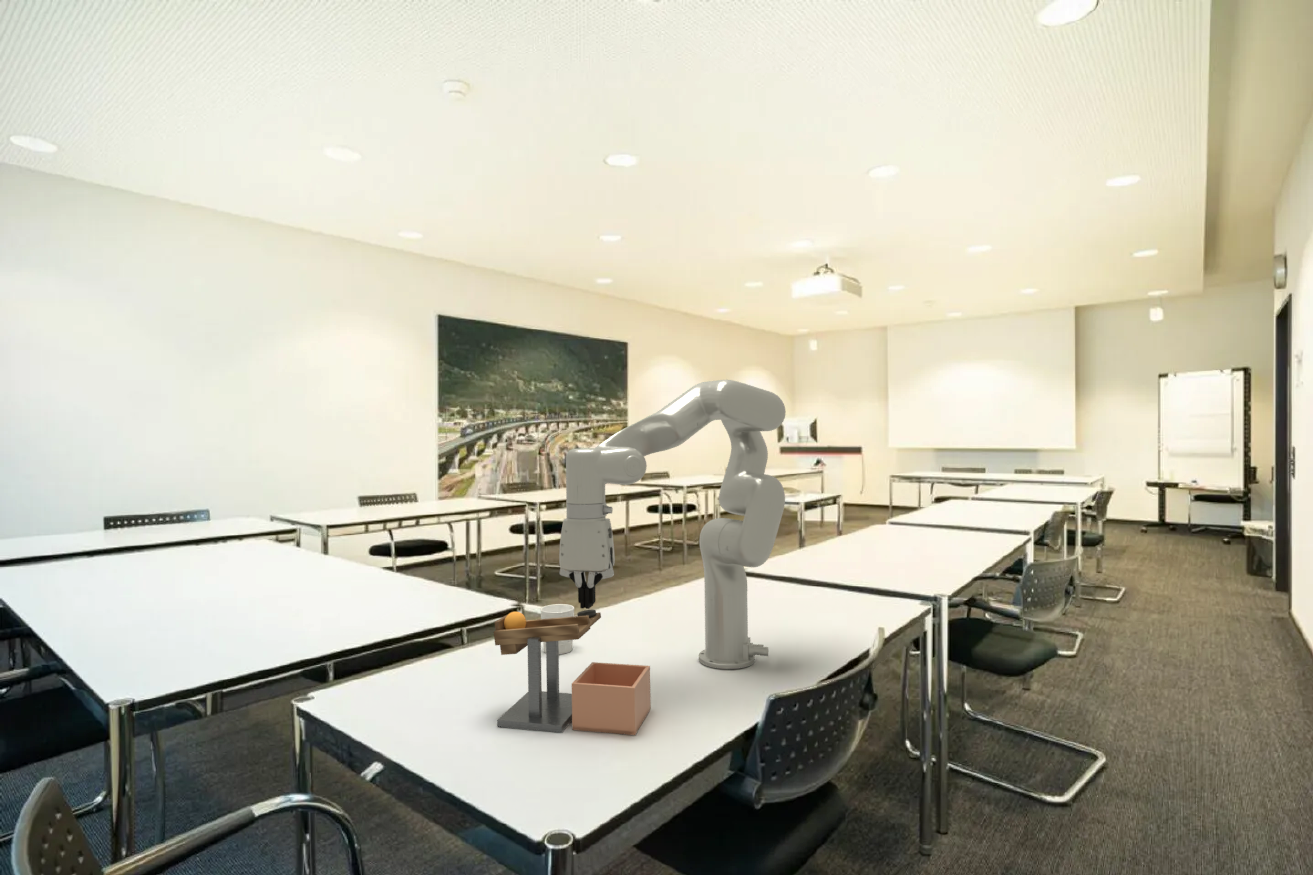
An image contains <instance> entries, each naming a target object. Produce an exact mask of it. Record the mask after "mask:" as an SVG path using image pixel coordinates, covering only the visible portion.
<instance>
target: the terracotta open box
mask: <svg viewBox="0 0 1313 875" xmlns="http://www.w3.org/2000/svg"><path fill="white" fill-rule="evenodd" d="M571 694H572V721H571V722H572V723H571V727H572V728H571V730H573V731H583V732H592V733H593V732H594V733H606V734H615V735H627V736H636V735H637V733H638V732H639V730H640V728H641V726H642V724H643V723H644V721H645V720H646V718H647V716H648V715H649V713H650V711H651V709H652V708H651V707H652V706H651V704H652V702H651V701H652V700H651V698H652V697H651V665H646V664H645V665H643V664H628V663H627V664H626V663H611V662H610V663H608V662H597V661H596V662H595V661H592V662H591V663H590V664H588V666H587V667H586V668H585V669H584V670H583V671H582V672H581V673H580V674H579V675H578V676H577V677H576V678H575V679H574V680H573V681H572V683H571Z"/></svg>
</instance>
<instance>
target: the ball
mask: <svg viewBox="0 0 1313 875" xmlns="http://www.w3.org/2000/svg"><path fill="white" fill-rule="evenodd" d="M506 615H507V616H506ZM506 615H505V616H506V618H505V620H504V626H505V629H506V630H507V629H520V628H525V626H526V620H527V619H526V617H525V615H524V614H523V613H522V612H519V611H511V612H509V613H508V614H506Z"/></svg>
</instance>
